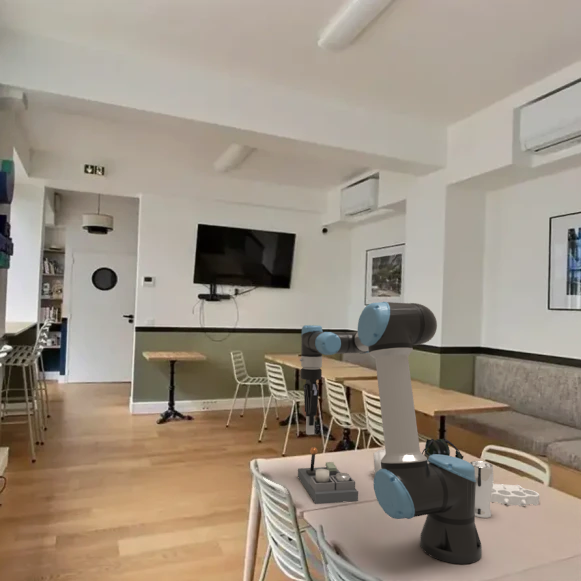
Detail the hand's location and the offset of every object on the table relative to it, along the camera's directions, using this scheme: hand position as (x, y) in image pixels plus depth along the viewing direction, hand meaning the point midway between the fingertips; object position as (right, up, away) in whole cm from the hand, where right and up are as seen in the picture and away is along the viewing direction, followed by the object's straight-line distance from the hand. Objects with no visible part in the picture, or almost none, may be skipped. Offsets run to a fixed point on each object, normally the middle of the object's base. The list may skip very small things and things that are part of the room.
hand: (310, 433), depth 174 cm
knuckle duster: (+65, -18, -14) cm, 69 cm away
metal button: (+10, -12, -15) cm, 22 cm away
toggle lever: (0, -12, -4) cm, 13 cm away
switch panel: (+5, -16, -9) cm, 19 cm away
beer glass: (+51, -17, -27) cm, 60 cm away
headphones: (+53, -18, +18) cm, 59 cm away
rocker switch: (+7, -12, -2) cm, 14 cm away
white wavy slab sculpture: (+33, -17, -7) cm, 38 cm away
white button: (+3, -10, -16) cm, 20 cm away
